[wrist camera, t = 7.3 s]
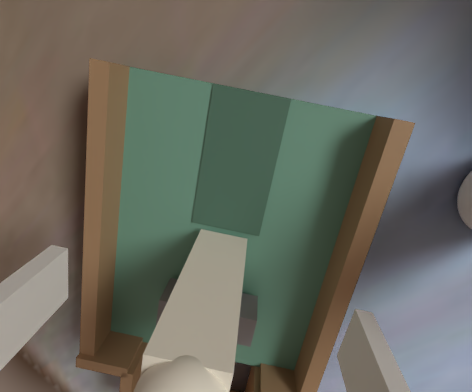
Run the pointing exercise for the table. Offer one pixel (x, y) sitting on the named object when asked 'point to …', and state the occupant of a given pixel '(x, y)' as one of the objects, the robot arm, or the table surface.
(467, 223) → the drinking glass
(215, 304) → the striker
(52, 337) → the table surface
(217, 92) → the pitch
